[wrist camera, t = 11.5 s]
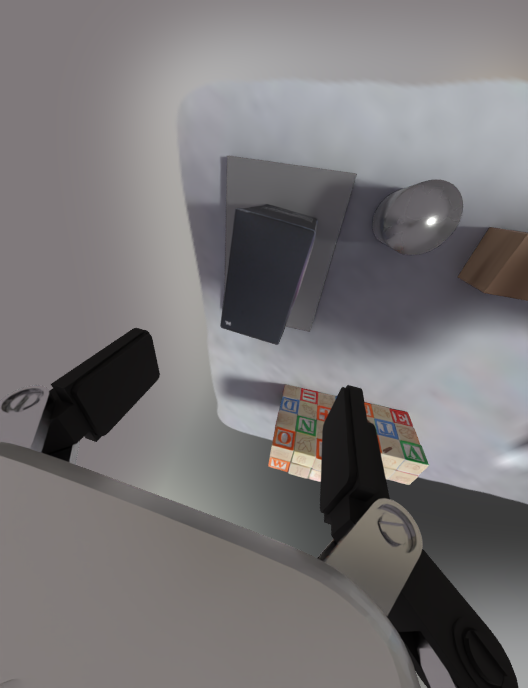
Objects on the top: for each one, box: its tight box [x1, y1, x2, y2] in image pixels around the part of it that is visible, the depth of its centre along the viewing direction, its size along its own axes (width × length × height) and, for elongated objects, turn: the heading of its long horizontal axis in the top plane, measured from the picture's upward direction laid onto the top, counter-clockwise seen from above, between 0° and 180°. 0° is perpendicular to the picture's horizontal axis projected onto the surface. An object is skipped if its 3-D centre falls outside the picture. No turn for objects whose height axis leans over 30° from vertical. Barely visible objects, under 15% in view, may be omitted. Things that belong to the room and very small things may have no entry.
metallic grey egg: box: [372, 180, 463, 255], centre depth 19 cm, size 5×5×7 cm
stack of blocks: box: [268, 384, 429, 485], centre depth 35 cm, size 21×6×12 cm, turn 86°
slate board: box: [225, 156, 357, 332], centre depth 27 cm, size 13×18×1 cm
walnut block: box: [458, 227, 528, 301], centre depth 21 cm, size 5×5×5 cm
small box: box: [220, 204, 317, 345], centre depth 22 cm, size 11×6×10 cm, turn 167°
